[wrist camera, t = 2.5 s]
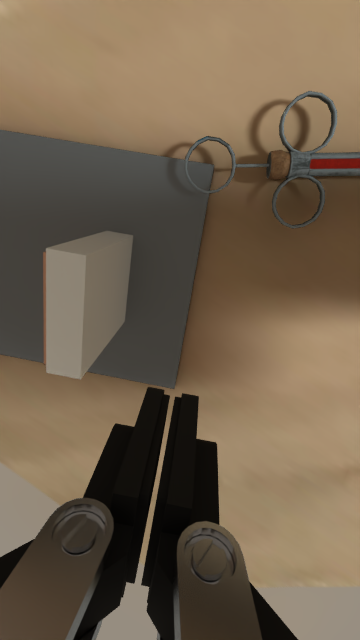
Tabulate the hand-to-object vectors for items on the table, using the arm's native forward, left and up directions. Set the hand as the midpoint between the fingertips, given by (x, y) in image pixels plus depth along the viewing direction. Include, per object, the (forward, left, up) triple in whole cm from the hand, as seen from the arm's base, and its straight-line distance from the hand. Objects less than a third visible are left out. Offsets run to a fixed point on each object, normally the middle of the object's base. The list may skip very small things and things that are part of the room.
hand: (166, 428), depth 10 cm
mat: (+11, 0, -16) cm, 19 cm away
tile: (+6, 0, -15) cm, 17 cm away
